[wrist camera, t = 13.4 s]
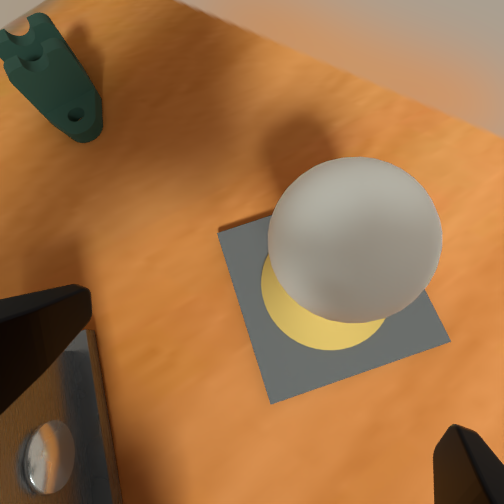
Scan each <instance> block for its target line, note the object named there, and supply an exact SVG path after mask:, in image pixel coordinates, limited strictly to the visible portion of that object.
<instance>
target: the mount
mask: <svg viewBox="0 0 504 504" xmlns="http://www.w3.org/2000/svg"><path fill="white" fill-rule="evenodd" d="M27 20H28V21H29V24H30V28H29V31H28V33H27V34H25V35H23V36H15V35H12V34H10V33H8V32H7V31H6V30H5V29H2V30H0V58H1V59H2V60H3V61H4V69H5V71H6V74H7V76H8V78H9V80H10V82H11V83H12V84H13V85H14V86H15V87H16V88H17V89H18V90H19V91H20V92H21V93H22V94H23V95H24V96H25V97H26V98H27V99H28V100H29V101H30V102H31V103H32V104H33V105H34V106H35V107H36V108H37V109H38V110H39V111H40V112H41V113H42V114H43V115H44V116H45V117H46V118H47V119H48V120H49V121H50V122H51V123H52V124H53V125H54V126H55V127H57V128H58V129H59V130H61V131H62V132H64V133H65V134H66V135H68V136H69V137H71V138H72V139H73V140H75V141H77V142H80V143H86V142H90V141H92V140H94V139H96V138H97V137H98V136H99V135H100V133H101V131H102V128H103V120H102V99H101V97H100V95H99V94H98V92H97V90H96V89H95V87H94V85H93V83H92V82H91V80H90V78H89V77H88V75H87V73H86V71H85V70H84V68H83V66H82V65H81V63H80V62H79V60H78V59H77V57H76V56H75V55H74V53H73V52H72V50H71V49H70V47H69V46H68V44H67V43H66V41H65V40H64V38H63V37H62V35H61V34H60V33H59V31H58V30H57V28H56V27H55V25H54V24H53V22H52V21H51V19H50V18H49V17H48V16H47V15H46V14H44V13H35V14H33V15H31V16H29V17H27ZM80 118H82V119H81V120H79V119H80ZM78 120H79V121H78Z"/></svg>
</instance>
